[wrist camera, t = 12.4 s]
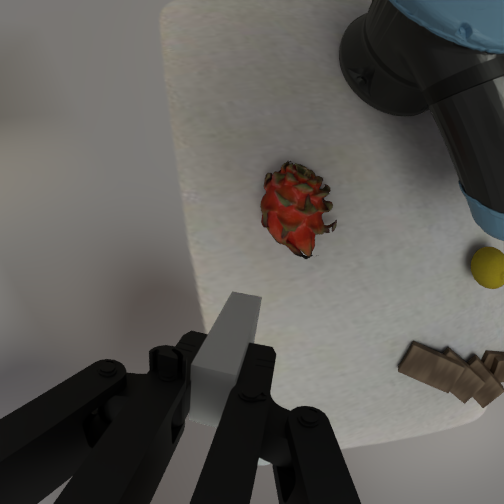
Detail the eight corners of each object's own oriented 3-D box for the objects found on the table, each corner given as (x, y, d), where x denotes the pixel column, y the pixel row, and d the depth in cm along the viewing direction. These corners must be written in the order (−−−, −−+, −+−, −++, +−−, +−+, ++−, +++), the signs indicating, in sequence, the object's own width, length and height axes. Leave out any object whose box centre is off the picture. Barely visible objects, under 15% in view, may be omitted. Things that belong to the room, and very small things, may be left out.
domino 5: (476, 359, 39) (504, 391, 37) (475, 354, 40) (503, 386, 38) (454, 377, 41) (483, 408, 39) (454, 372, 43) (482, 402, 40)
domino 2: (449, 351, 40) (485, 383, 37) (448, 347, 41) (483, 378, 39) (428, 373, 42) (464, 403, 39) (427, 368, 43) (463, 398, 40)
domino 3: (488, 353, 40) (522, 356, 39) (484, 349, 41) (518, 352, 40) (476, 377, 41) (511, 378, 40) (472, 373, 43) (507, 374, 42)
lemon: (488, 236, 37) (518, 250, 29) (491, 271, 38) (519, 289, 30) (460, 247, 38) (487, 262, 30) (464, 282, 39) (489, 302, 31)
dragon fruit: (294, 154, 40) (307, 239, 45) (237, 167, 37) (255, 259, 41) (339, 154, 33) (350, 253, 37) (276, 168, 30) (294, 280, 34)
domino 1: (413, 345, 41) (465, 368, 38) (413, 340, 42) (463, 363, 39) (397, 371, 42) (448, 393, 39) (398, 366, 44) (447, 388, 40)
